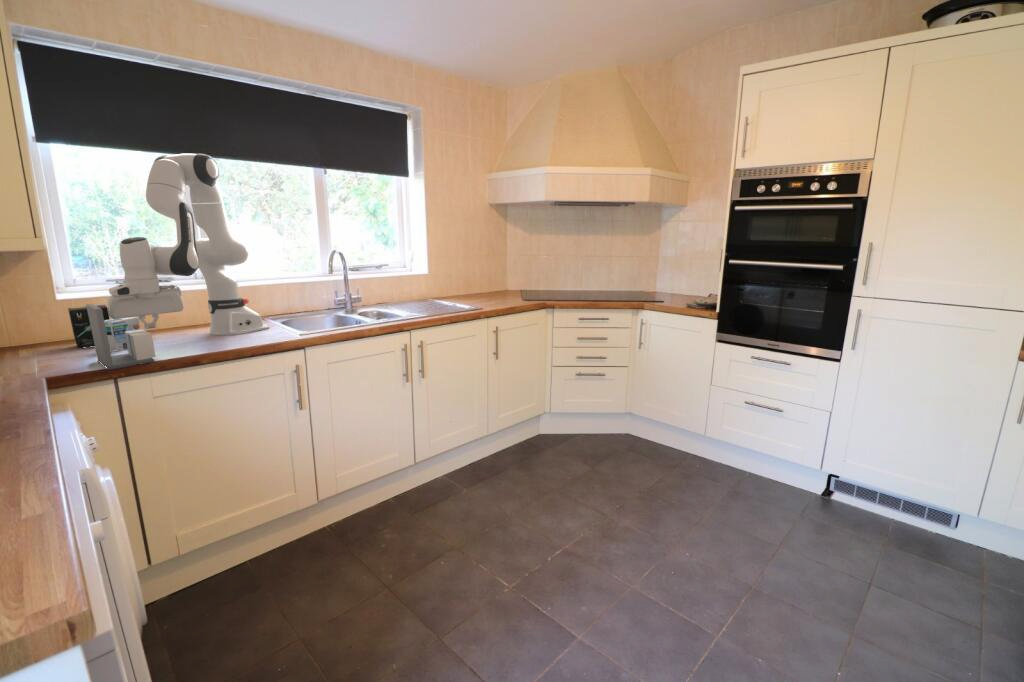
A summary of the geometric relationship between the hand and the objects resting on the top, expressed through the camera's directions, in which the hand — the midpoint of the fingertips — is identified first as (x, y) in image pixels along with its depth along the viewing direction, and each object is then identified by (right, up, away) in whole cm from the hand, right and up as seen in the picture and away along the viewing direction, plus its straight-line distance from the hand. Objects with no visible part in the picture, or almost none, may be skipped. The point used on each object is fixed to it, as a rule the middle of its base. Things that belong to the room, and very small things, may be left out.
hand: (150, 328), depth 162 cm
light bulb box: (-22, -7, +16) cm, 28 cm away
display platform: (-5, -11, -4) cm, 13 cm away
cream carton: (-1, -5, 0) cm, 5 cm away
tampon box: (-37, -6, +21) cm, 42 cm away
